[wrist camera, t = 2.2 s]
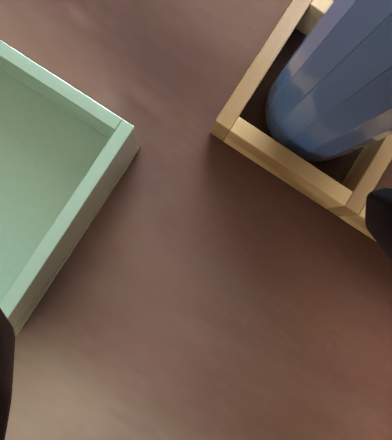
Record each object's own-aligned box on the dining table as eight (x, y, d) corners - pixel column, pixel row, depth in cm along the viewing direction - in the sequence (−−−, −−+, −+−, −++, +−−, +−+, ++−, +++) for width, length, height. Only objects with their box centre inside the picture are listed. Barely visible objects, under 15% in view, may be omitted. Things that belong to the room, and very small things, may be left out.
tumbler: (379, 98, 24) (636, -60, 11) (329, 181, 23) (536, 119, 10) (298, 43, 23) (463, -190, 10) (245, 125, 23) (351, -11, 10)
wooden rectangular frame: (518, 164, 25) (558, 157, 22) (448, 289, 24) (481, 296, 21) (289, 7, 23) (304, -19, 21) (209, 133, 23) (215, 120, 20)
